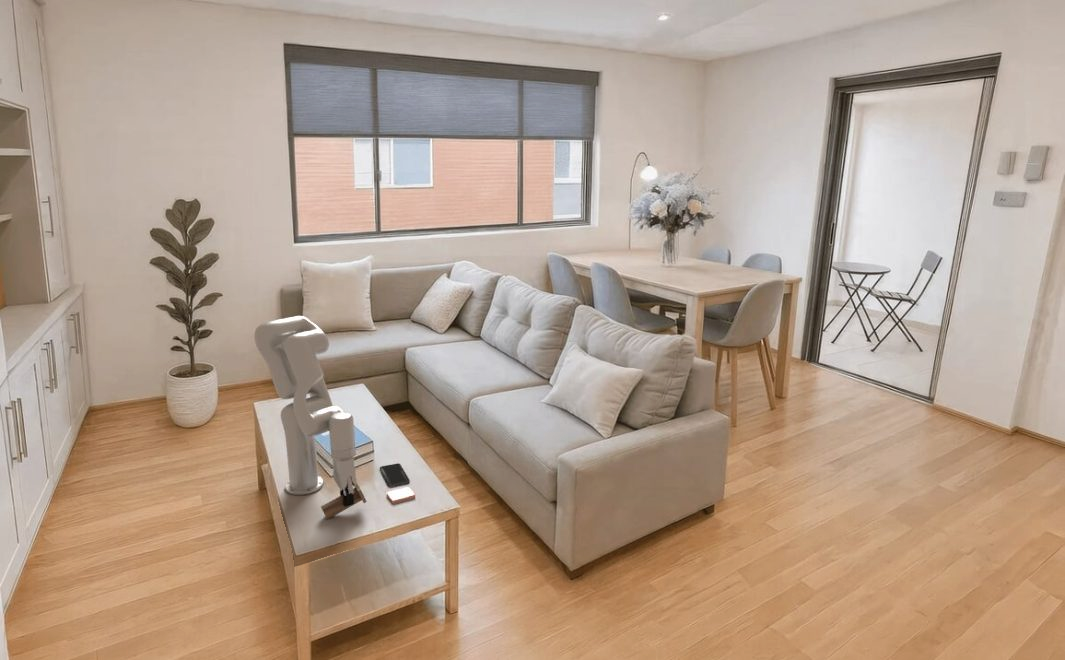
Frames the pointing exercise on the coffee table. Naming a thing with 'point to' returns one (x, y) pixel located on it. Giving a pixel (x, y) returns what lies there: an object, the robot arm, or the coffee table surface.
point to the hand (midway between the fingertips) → (347, 502)
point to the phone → (394, 475)
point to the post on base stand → (338, 506)
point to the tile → (400, 495)
